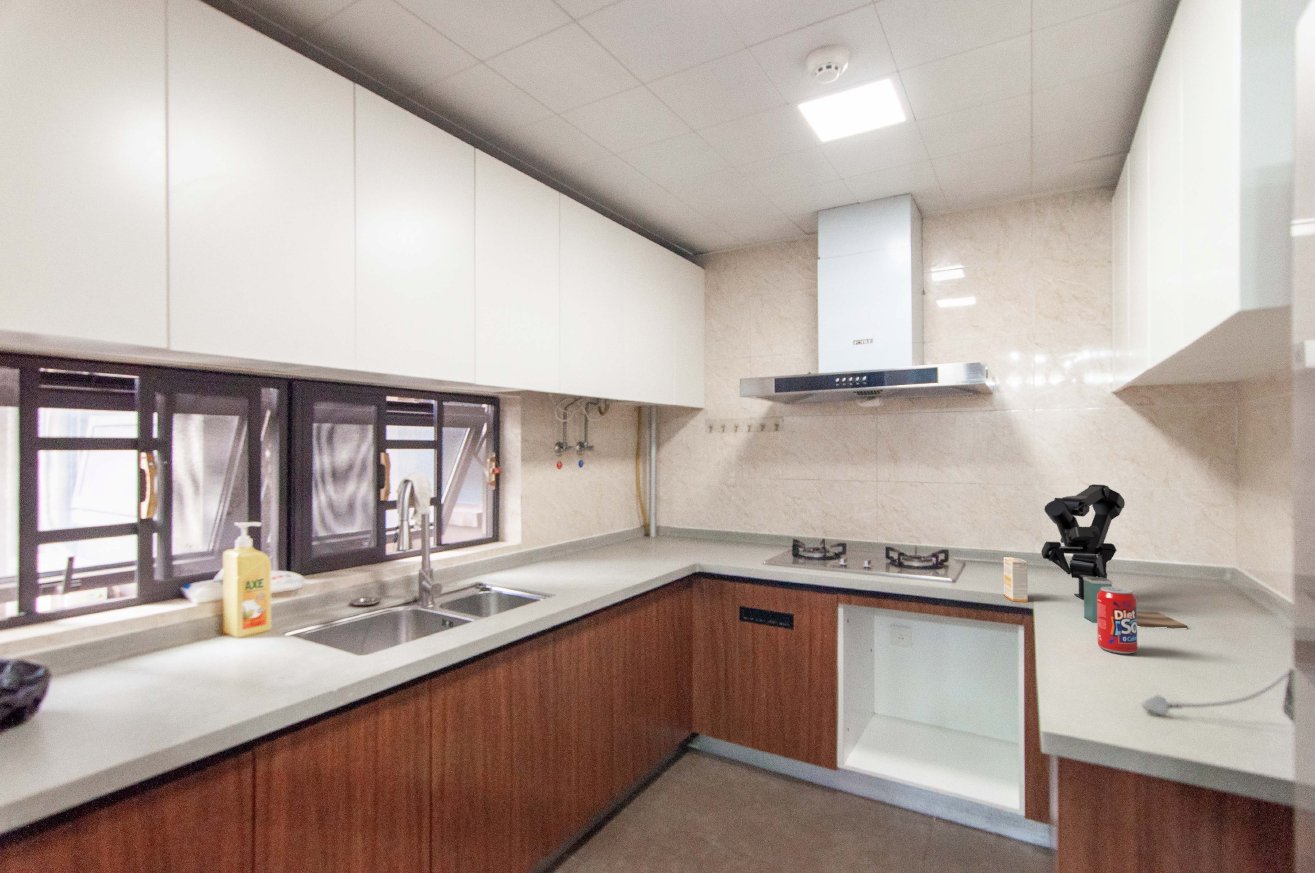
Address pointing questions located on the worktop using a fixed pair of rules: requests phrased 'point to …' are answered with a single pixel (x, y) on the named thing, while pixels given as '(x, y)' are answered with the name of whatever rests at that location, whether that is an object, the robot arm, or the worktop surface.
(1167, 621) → the walnut board
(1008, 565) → the supplement box
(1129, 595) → the soda can
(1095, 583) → the tea tin
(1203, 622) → the worktop surface
